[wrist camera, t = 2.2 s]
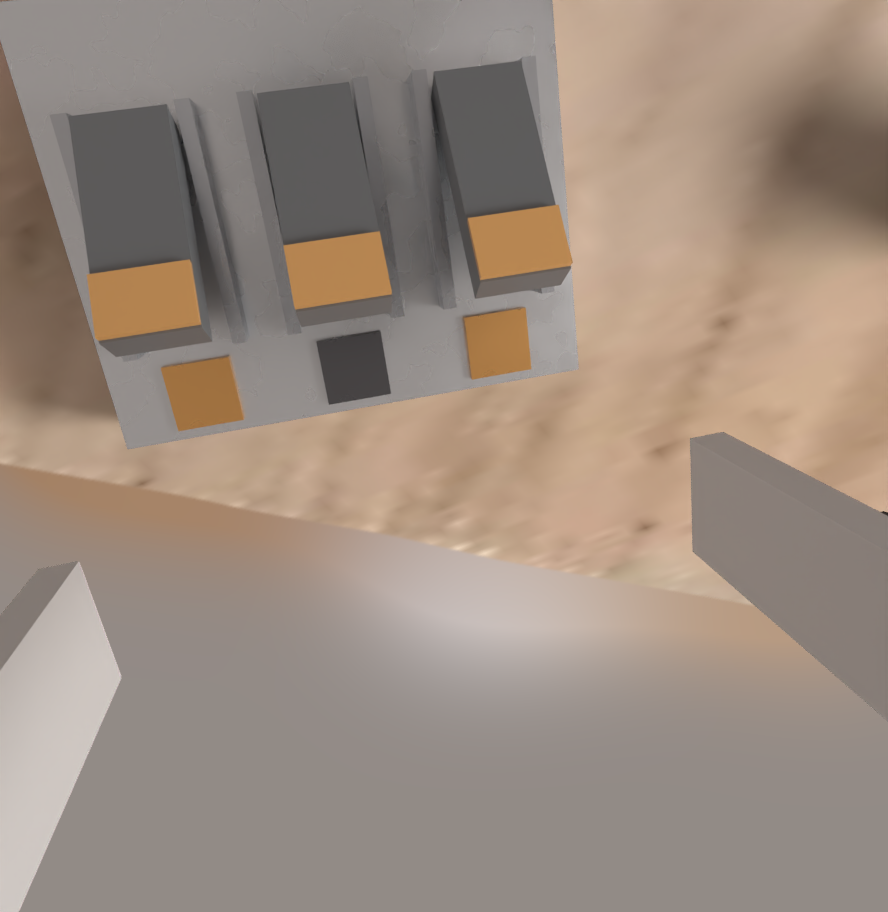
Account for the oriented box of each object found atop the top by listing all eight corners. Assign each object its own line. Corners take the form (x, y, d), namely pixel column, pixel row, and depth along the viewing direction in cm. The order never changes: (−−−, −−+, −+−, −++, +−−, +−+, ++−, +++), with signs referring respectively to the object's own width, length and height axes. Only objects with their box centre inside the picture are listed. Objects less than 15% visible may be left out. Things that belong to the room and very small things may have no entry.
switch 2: (263, 119, 28) (254, 87, 26) (351, 108, 29) (348, 76, 27) (300, 327, 27) (294, 309, 25) (391, 312, 27) (392, 293, 25)
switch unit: (39, 36, 31) (-31, -10, 24) (516, -16, 33) (560, -70, 27) (152, 420, 37) (118, 459, 31) (547, 352, 39) (589, 375, 33)
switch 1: (86, 142, 27) (64, 111, 25) (178, 130, 28) (164, 98, 26) (115, 357, 26) (95, 340, 24) (212, 341, 26) (199, 324, 25)
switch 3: (430, 98, 29) (434, 66, 27) (513, 87, 29) (522, 55, 27) (474, 298, 28) (481, 279, 26) (560, 285, 28) (573, 265, 26)
